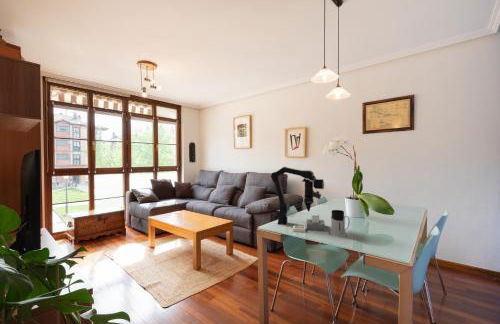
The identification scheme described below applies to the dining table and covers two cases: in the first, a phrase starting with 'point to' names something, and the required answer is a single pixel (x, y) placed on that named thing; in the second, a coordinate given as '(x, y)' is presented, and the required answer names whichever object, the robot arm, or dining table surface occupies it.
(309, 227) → the port
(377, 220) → the dining table surface
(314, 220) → the plug
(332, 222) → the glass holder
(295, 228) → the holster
